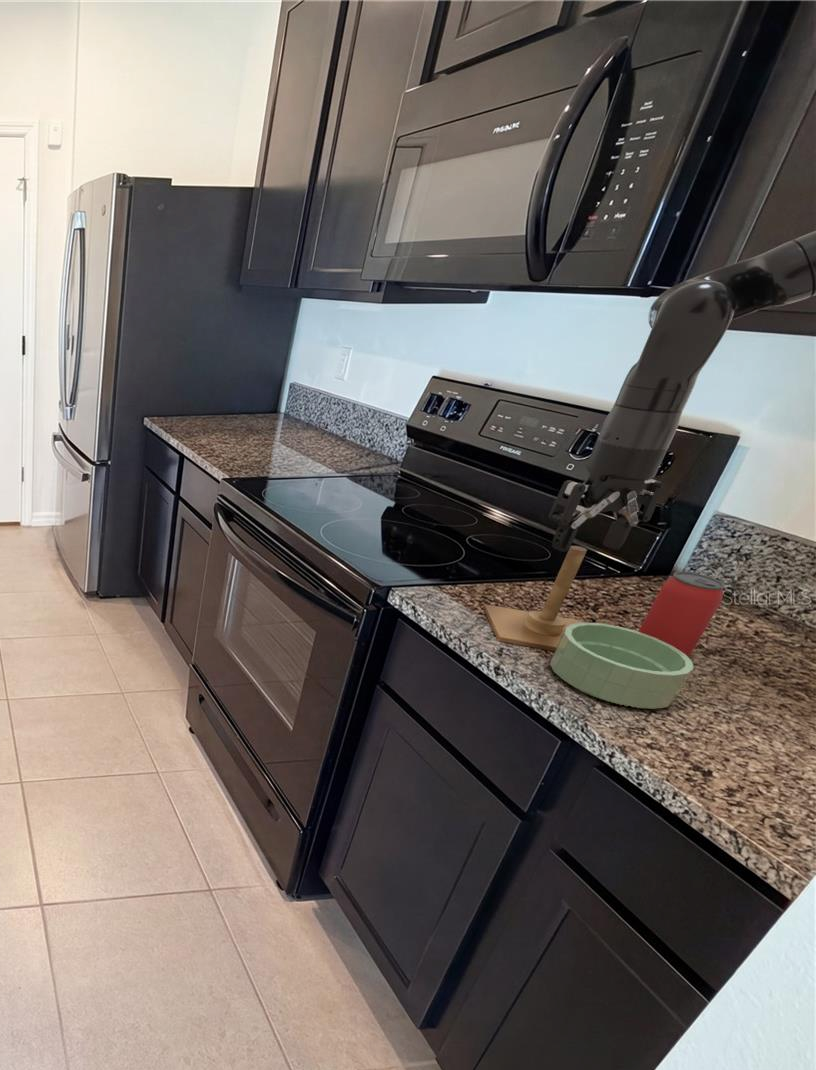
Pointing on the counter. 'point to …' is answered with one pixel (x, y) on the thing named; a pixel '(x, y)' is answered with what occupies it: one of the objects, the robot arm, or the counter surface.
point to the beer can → (683, 610)
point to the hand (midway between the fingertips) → (585, 548)
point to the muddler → (556, 597)
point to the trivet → (520, 628)
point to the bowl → (620, 665)
